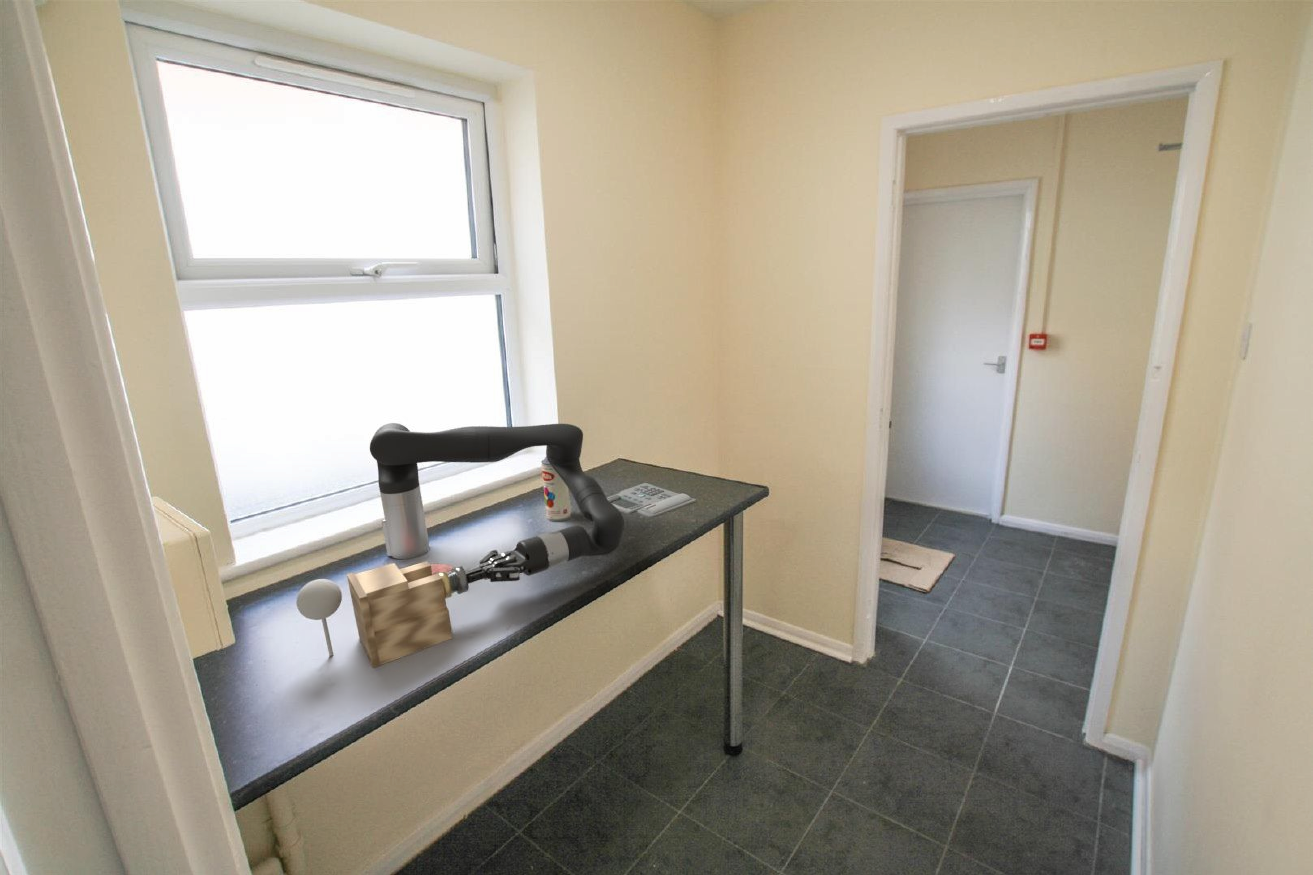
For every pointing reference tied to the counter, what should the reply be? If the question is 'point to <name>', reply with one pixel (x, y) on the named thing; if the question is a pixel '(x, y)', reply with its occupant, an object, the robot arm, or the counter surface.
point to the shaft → (454, 581)
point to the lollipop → (320, 603)
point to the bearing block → (399, 610)
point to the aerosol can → (555, 494)
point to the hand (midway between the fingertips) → (463, 578)
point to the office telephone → (651, 500)
